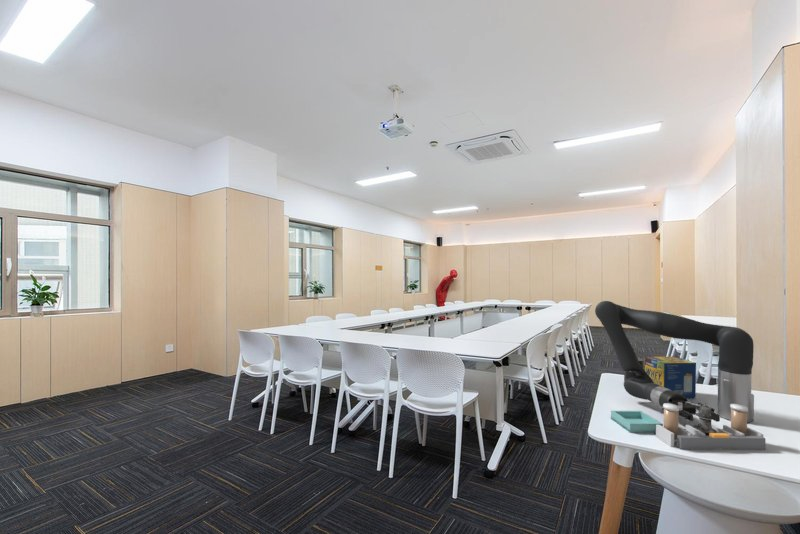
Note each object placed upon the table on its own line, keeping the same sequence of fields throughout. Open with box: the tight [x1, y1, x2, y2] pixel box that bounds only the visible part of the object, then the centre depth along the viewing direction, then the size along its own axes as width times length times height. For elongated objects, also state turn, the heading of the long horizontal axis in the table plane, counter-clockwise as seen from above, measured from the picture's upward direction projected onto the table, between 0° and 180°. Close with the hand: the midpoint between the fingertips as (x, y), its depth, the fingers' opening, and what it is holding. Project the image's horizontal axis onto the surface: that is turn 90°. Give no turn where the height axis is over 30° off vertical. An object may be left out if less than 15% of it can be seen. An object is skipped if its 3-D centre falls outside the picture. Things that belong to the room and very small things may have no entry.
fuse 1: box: [663, 403, 680, 444], centre depth 118 cm, size 4×4×11 cm
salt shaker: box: [692, 402, 717, 436], centre depth 118 cm, size 6×6×12 cm
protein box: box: [644, 356, 697, 400], centre depth 160 cm, size 10×15×16 cm
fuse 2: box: [730, 404, 748, 436], centre depth 118 cm, size 4×4×11 cm
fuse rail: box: [654, 424, 766, 451], centre depth 118 cm, size 29×12×4 cm, turn 90°
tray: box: [610, 410, 664, 434], centre depth 128 cm, size 11×11×3 cm
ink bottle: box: [623, 357, 645, 382], centre depth 174 cm, size 10×9×12 cm
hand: (705, 418), depth 117 cm, fingers open, 8 cm apart
